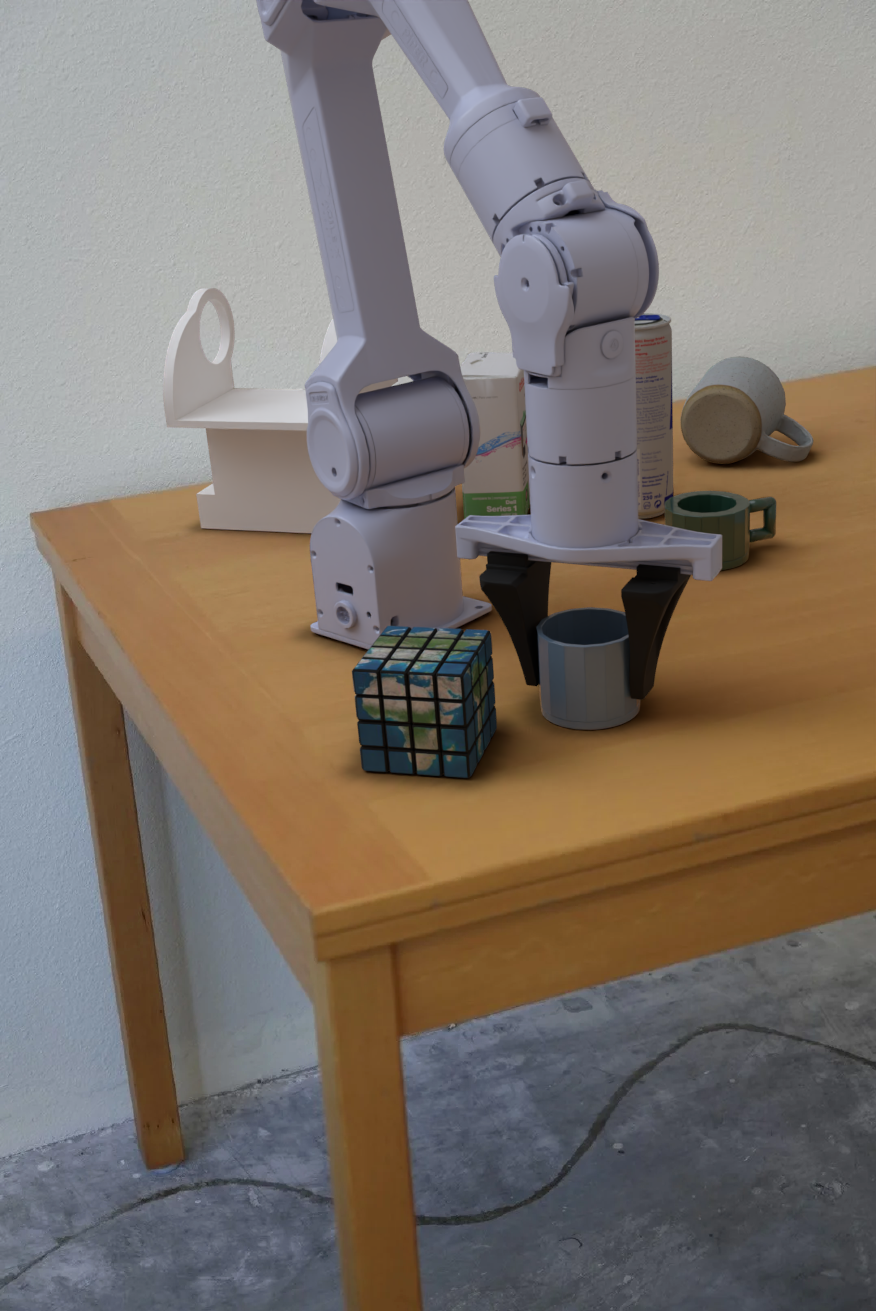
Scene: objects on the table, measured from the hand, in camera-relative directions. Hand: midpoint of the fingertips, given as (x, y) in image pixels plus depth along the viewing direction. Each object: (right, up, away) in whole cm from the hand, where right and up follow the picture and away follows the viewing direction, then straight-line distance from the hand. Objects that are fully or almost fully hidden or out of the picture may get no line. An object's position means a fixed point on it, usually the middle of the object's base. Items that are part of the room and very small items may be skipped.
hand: (590, 685), depth 83 cm
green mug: (+12, +9, +22) cm, 26 cm away
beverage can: (+7, +13, +32) cm, 35 cm away
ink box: (-4, +13, +35) cm, 38 cm away
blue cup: (0, -1, +1) cm, 1 cm away
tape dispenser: (-20, +13, +37) cm, 44 cm away
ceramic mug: (+18, +19, +44) cm, 51 cm away
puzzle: (-9, -4, -3) cm, 10 cm away
